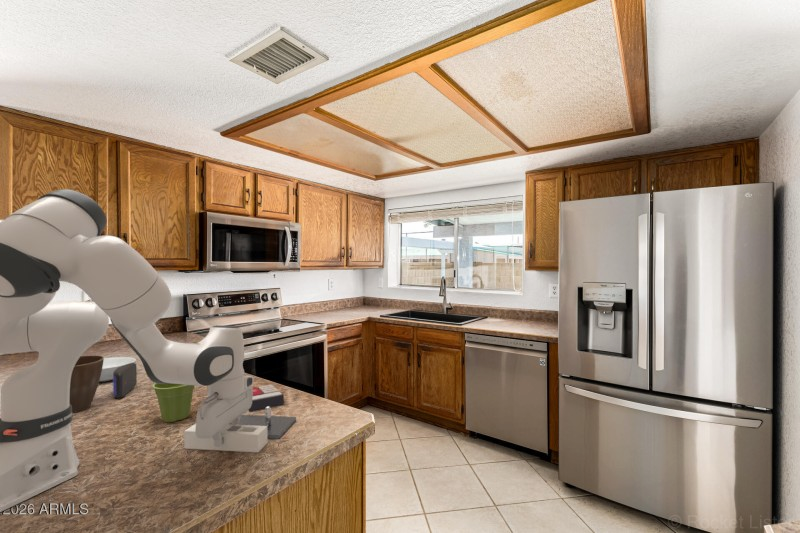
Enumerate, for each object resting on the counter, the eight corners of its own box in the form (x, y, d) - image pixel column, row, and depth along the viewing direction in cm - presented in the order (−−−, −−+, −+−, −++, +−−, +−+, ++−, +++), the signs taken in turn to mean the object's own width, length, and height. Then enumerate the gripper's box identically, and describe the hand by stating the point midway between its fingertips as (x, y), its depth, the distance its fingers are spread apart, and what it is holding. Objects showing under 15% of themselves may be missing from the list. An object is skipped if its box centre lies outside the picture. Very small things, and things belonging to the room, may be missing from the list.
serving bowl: (127, 383, 149) (127, 366, 149) (61, 390, 141) (61, 372, 141) (142, 369, 168) (142, 354, 168) (85, 375, 160) (84, 359, 160)
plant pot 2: (158, 413, 118) (158, 378, 118) (200, 408, 122) (199, 374, 122) (147, 429, 107) (147, 390, 107) (194, 422, 111) (193, 385, 111)
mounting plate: (278, 438, 100) (278, 415, 100) (196, 434, 103) (196, 412, 103) (296, 420, 112) (296, 399, 112) (221, 417, 115) (221, 396, 115)
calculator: (272, 383, 137) (284, 392, 125) (272, 394, 137) (284, 405, 125) (240, 388, 131) (249, 399, 119) (241, 400, 131) (249, 412, 119)
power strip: (258, 452, 93) (258, 433, 93) (184, 448, 95) (184, 430, 95) (267, 443, 98) (267, 425, 98) (197, 439, 100) (197, 422, 100)
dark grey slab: (123, 386, 144) (123, 362, 144) (137, 385, 146) (137, 361, 146) (106, 401, 129) (106, 374, 129) (122, 399, 131) (121, 372, 130)
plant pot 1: (111, 407, 123) (111, 359, 123) (51, 422, 111) (51, 369, 111) (95, 398, 132) (94, 353, 132) (38, 412, 119) (37, 362, 119)
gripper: (213, 401, 86) (213, 461, 86) (256, 375, 106) (257, 423, 106) (187, 400, 86) (188, 459, 86) (236, 374, 107) (236, 422, 107)
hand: (226, 439), depth 96 cm, fingers closed on power strip, 5 cm apart
